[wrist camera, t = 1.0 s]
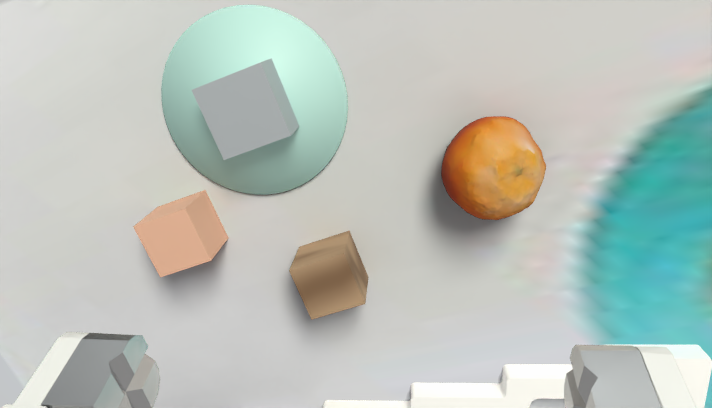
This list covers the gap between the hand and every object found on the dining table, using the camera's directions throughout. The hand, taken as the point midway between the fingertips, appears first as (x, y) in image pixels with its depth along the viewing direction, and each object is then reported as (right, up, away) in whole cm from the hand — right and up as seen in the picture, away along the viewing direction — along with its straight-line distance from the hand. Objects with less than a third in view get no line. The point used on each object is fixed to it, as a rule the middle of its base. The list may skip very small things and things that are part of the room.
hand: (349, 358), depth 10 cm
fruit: (+11, +7, +36) cm, 39 cm away
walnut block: (-2, -2, +41) cm, 41 cm away
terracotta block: (-15, +1, +41) cm, 43 cm away
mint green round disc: (-8, +11, +36) cm, 39 cm away
